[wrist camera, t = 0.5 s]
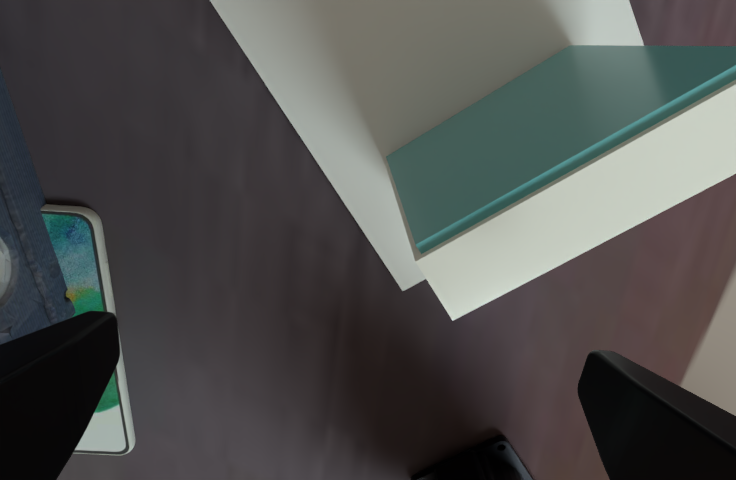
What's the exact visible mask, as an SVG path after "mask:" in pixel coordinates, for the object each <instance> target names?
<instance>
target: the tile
mask: <svg viewBox="0 0 736 480" xmlns="http://www.w3.org/2000/svg"><path fill="white" fill-rule="evenodd" d="M386 159H387V163H385V165H386V168H387V172H388V175H389V178H390V181H391V185H392V188H393V191H394V194H395V198H396V201H397V204H398V207H399V210H400V214H401V217H402V220H403V223H404V227H405V230H406V233H407V236H408V240H409V243H410V246H411V249H412V252H413V256H414V259H415V262H416V263H417V265H418V267H419V268H420V270H421V271H422V273H423V275H424V276H425V278H426V279H427V281H428V283H429V284H430V286H431V287H432V289H433V290H434V292H435V294H436V295H437V297H438V298H439V300H440V302H441V303H442V305H443V306H444V308H445V309H446V311H447V313H448V314H449V316H450V317H451V319H452V321H454V320H455V319H457V318H459V317H461V316H463V315H465V314H467V313H469V312H471V311H473V310H475V309H477V308H478V307H480V306H482V305H484V304H486V303H488V302H490V301H492V300H494V299H496V298H498V297H500V296H502V295H503V294H505V293H507V292H509V291H511V290H513V289H515V288H517V287H519V286H521V285H523V284H525V283H526V282H528V281H530V280H532V279H534V278H536V277H538V276H540V275H542V274H544V273H546V272H548V271H550V270H551V269H553V268H555V267H557V266H559V265H561V264H563V263H565V262H567V261H569V260H571V259H573V258H575V257H576V256H578V255H580V254H582V253H584V252H586V251H588V250H590V249H592V248H594V247H596V246H598V245H599V244H601V243H603V242H605V241H607V240H609V239H611V238H613V237H615V236H617V235H619V234H621V233H623V232H624V231H626V230H628V229H630V228H632V227H634V226H636V225H638V224H640V223H642V222H644V221H646V220H647V219H649V218H651V217H653V216H655V215H657V214H659V213H661V212H663V211H665V210H667V209H669V208H671V207H672V206H674V205H676V204H678V203H680V202H682V201H684V200H686V199H688V198H690V197H692V196H694V195H695V194H697V193H699V192H701V191H703V190H705V189H707V188H709V187H711V186H713V185H715V184H717V183H719V182H720V181H722V180H724V179H726V178H728V177H730V176H732V175H734V174H736V46H615V45H569V46H568V47H566V48H565V49H563V50H561V51H560V52H558V53H556V54H555V55H553V56H551V57H550V58H548V59H546V60H545V61H543V62H541V63H540V64H538V65H536V66H535V67H533V68H531V69H530V70H528V71H527V72H525V73H523V74H522V75H520V76H518V77H517V78H515V79H513V80H512V81H510V82H508V83H507V84H505V85H503V86H502V87H500V88H498V89H497V90H495V91H493V92H492V93H490V94H489V95H487V96H485V97H484V98H482V99H480V100H479V101H477V102H475V103H474V104H472V105H470V106H469V107H467V108H465V109H464V110H462V111H460V112H459V113H457V114H455V115H454V116H452V117H451V118H449V119H447V120H446V121H444V122H442V123H441V124H439V125H437V126H436V127H434V128H432V129H431V130H429V131H427V132H426V133H424V134H422V135H421V136H419V137H417V138H416V139H414V140H413V141H411V142H409V143H408V144H406V145H404V146H403V147H401V148H399V149H398V150H396V151H394V152H393V153H391V154H389V155H388V156H386Z"/></svg>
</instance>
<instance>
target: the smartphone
mask: <svg viewBox="0 0 736 480" xmlns="http://www.w3.org/2000/svg"><path fill="white" fill-rule="evenodd" d="M41 214H42V216H43V219H44V222H45V225H46V228H47V231H48V234H49V237H50V240H51V242H52V245H53V248H54V251H55V253H56V256H57V259H58V262H59V265H60V268H61V271H62V274H63V277H64V280H65V283H66V286H67V289H68V290H67V291H66V297H68V298H69V299H71V301H72V303H73V305H74V308H75V312H76V313H75V314H74V315H73V317H74V316H77V315H80V314H82V313H85V312H87V311H104V312H112V313H113V314H115V316H116V311H115V304H114V298H113V291H112V285H111V278H110V272H109V265H108V259H107V253H106V246H105V240H104V233H103V227H102V222H101V219H100V217H99V216H98V214H97V213H96V212H94V211H93V210H91V209H89V208H86V207H81V206H65V205H49V204H46V205H44V206H43V207H42V208H41ZM99 287H100V288H99ZM100 293H101V294H100ZM101 299H102V300H101ZM116 318H117V317H116ZM118 333H119V330H118ZM119 344H120V357H119V361H118V364H117V366H116V368H115V371H114V373H113V375H112V377H111V379H110V381H109V383H108V385H107V387H106V389H105V391H104V393H103V396H102V398H101V400H100V402H99V404H98V406H97V408H96V410H95V412H94V414H93V416H92V419H91V421H90V423H89V425H88V427H87V429H86V431H85V433H84V435H83V436H82V438H81V440H80V442H79V443H78V445H77V447H76V449H75V450H74V452H73V453H79V454H101V455H124V454H127V453H129V452H130V451H131V450H132V449H133V447H134V445H135V434H134V427H133V421H132V414H131V408H130V401H129V395H128V388H127V382H126V375H125V369H124V362H123V356H122V349H121V343H120V336H119Z"/></svg>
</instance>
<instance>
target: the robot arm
mask: <svg viewBox="0 0 736 480" xmlns="http://www.w3.org/2000/svg"><path fill="white" fill-rule="evenodd" d="M119 357H120V344H119V333H118V323H117V318H116V316H115V314H113V313H112V312H104V311H87V312H85V313H82V314H80V315H77V316H74V317H72V318H69V319H66V320H64V321H61V322H58V323H56V324H53V325H51V326H48V327H45V328H43V329H40V330H37V331H35V332H32V333H29V334H27V335H24V336H22V337H19V338H16V339H14V340H11V341H8V342H6V343H3V344H0V480H56V479H57V478H58V476H59V475H60V473H61V471H62V470H63V468H64V466H65V465H66V463H67V462H68V460H69V458H70V457H71V455H72V454H73V452H74V450H75V449H76V447H77V445H78V443H79V442H80V440H81V438H82V436H83V435H84V433H85V431H86V429H87V427H88V425H89V423H90V421H91V419H92V416H93V414H94V412H95V410H96V408H97V406H98V404H99V402H100V400H101V398H102V396H103V393H104V391H105V389H106V387H107V385H108V383H109V381H110V379H111V377H112V375H113V373H114V371H115V368H116V366H117V364H118V361H119ZM578 396H579V399H580V402H581V405H582V408H583V410H584V413H585V416H586V419H587V421H588V424H589V427H590V430H591V432H592V435H593V438H594V441H595V443H596V446H597V449H598V452H599V455H600V457H601V460H602V462H603V465H604V467H605V470H606V472H607V474H608V476H609V479H610V480H736V416H734V415H732V414H731V413H729V412H727V411H725V410H723V409H721V408H719V407H717V406H716V405H714V404H712V403H710V402H708V401H706V400H704V399H702V398H700V397H699V396H697V395H695V394H693V393H691V392H689V391H687V390H685V389H683V388H681V387H680V386H678V385H676V384H674V383H672V382H670V381H668V380H666V379H665V378H663V377H661V376H659V375H657V374H655V373H653V372H651V371H650V370H648V369H646V368H644V367H642V366H640V365H638V364H636V363H634V362H633V361H631V360H629V359H627V358H625V357H623V356H621V355H619V354H617V353H615V352H612V351H602V350H593V351H591V352H590V353H589V354H588V357H587V359H586V362H585V365H584V368H583V371H582V374H581V377H580V380H579V383H578ZM501 444H502V445H501ZM411 480H534V479H533V478H532V476H531V475H530V473H529V472H528V470H527V469H526V467H525V466H524V464H523V462H522V461H521V459H520V458H519V456H518V455H517V453H516V452H515V450H514V449H513V447H512V446H511V444H510V443H509V441H508V440H507V438H506V437H504V436H497V437H495V438H493V439H490V440H488V441H486V442H484V443H482V444H480V445H477V446H475V447H473V448H471V449H469V450H467V451H465V452H462V453H460V454H458V455H456V456H454V457H452V458H449V459H447V460H445V461H443V462H441V463H439V464H437V465H434V466H432V467H430V468H428V469H426V470H424V471H421V472H419V473H417V474H415V475H413V476H412V478H411Z"/></svg>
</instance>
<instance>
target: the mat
mask: <svg viewBox="0 0 736 480" xmlns="http://www.w3.org/2000/svg"><path fill="white" fill-rule="evenodd" d="M210 2H211V3H212V5H213V6H214V8H215V9H216V11H217V12H218V14H219V15H220V17H221V18H222V20H223V21H224V23H225V24H226V26H227V27H228V29H229V30H230V32H231V33H232V35H233V36H234V38H235V39H236V41H237V42H238V44H239V45H240V47H241V48H242V50H243V51H244V53H245V54H246V56H247V57H248V59H249V60H250V62H251V63H252V65H253V66H254V68H255V69H256V71H257V72H258V74H259V75H260V77H261V78H262V80H263V81H264V83H265V84H266V86H267V87H268V89H269V91H270V92H271V94H272V95H273V97H274V98H275V100H276V101H277V103H278V104H279V106H280V107H281V109H282V110H283V112H284V113H285V115H286V116H287V118H288V119H289V121H290V122H291V124H292V125H293V127H294V128H295V130H296V131H297V133H298V134H299V136H300V137H301V139H302V140H303V142H304V143H305V145H306V146H307V148H308V149H309V151H310V152H311V154H312V155H313V157H314V158H315V160H316V161H317V163H318V164H319V166H320V167H321V169H322V170H323V172H324V173H325V175H326V176H327V178H328V179H329V181H330V182H331V184H332V185H333V187H334V188H335V190H336V192H337V193H338V195H339V196H340V198H341V199H342V201H343V202H344V204H345V205H346V207H347V208H348V210H349V211H350V213H351V214H352V216H353V217H354V219H355V220H356V222H357V223H358V225H359V226H360V228H361V229H362V231H363V232H364V234H365V235H366V237H367V238H368V240H369V241H370V243H371V244H372V246H373V247H374V249H375V250H376V252H377V253H378V255H379V256H380V258H381V259H382V261H383V262H384V264H385V265H386V267H387V268H388V270H389V271H390V273H391V274H392V276H393V277H394V279H395V280H396V282H397V283H398V285H399V286H400V288H401V289H402V291H404V290H406V289H408V288H410V287H412V286H414V285H415V284H417V283H419V282H421V281H423V280H425V279H426V278H425V276H424V275H423V273H422V271H421V270H420V268H419V267H418V265H417V263H416V262H415V259H414V256H413V252H412V249H411V246H410V243H409V240H408V236H407V233H406V230H405V227H404V223H403V220H402V217H401V214H400V210H399V207H398V204H397V201H396V198H395V194H394V191H393V188H392V185H391V181H390V178H389V175H388V172H387V168H386V165H385V163H387V159H386V156H388V155H389V154H391V153H393V152H394V151H396V150H398V149H399V148H401V147H403V146H404V145H406V144H408V143H409V142H411V141H413V140H414V139H416V138H417V137H419V136H421V135H422V134H424V133H426V132H427V131H429V130H431V129H432V128H434V127H436V126H437V125H439V124H441V123H442V122H444V121H446V120H447V119H449V118H451V117H452V116H454V115H455V114H457V113H459V112H460V111H462V110H464V109H465V108H467V107H469V106H470V105H472V104H474V103H475V102H477V101H479V100H480V99H482V98H484V97H485V96H487V95H489V94H490V93H492V92H493V91H495V90H497V89H498V88H500V87H502V86H503V85H505V84H507V83H508V82H510V81H512V80H513V79H515V78H517V77H518V76H520V75H522V74H523V73H525V72H527V71H528V70H530V69H531V68H533V67H535V66H536V65H538V64H540V63H541V62H543V61H545V60H546V59H548V58H550V57H551V56H553V55H555V54H556V53H558V52H560V51H561V50H563V49H565V48H566V47H568V46H569V45H615V46H644V44H643V41H642V38H641V35H640V32H639V29H638V26H637V23H636V20H635V17H634V14H633V11H632V8H631V5H630V2H629V0H210Z"/></svg>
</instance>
